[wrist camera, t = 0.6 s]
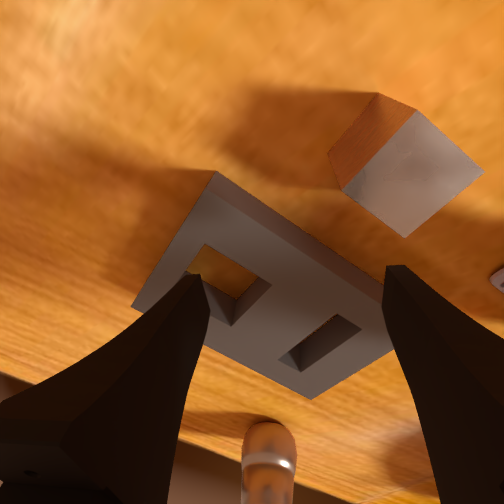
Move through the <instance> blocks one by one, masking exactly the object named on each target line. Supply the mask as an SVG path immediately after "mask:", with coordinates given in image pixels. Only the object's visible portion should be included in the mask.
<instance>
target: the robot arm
mask: <svg viewBox="0 0 504 504" xmlns="http://www.w3.org/2000/svg"><path fill="white" fill-rule="evenodd" d="M489 281H490V282H491V283H492V285H493V286H495V287H496V288H497V289H499V290H500V291H501V292H502V293H504V283H503V282H504V268H503V269H501V270H499V271H498V272H496V273H495V274H493V275H492V276H491V277H490V279H489ZM501 283H502V284H501ZM381 308H382V312H383V316H384V320H385V324H386V328H387V332H388V334H389V337H390V339H391V342H392V345H393V347H394V350H395V352H396V355H397V357H398V360H399V362H400V365H401V367H402V370H403V372H404V375H405V377H406V380H407V382H408V385H409V388H410V390H411V393H412V396H413V399H414V402H415V406H416V409H417V413H418V417H419V420H420V424H421V427H422V431H423V435H424V438H425V442H426V446H427V450H428V453H429V457H430V461H431V465H432V469H433V473H434V477H435V481H436V486H437V490H438V494H439V498H440V502H441V504H504V339H503V338H501V337H500V336H498V335H496V334H495V333H493V332H491V331H490V330H488V329H487V328H485V327H484V326H482V325H481V324H479V323H478V322H476V321H475V320H473V319H472V318H470V317H469V316H468V315H466V314H465V313H463V312H462V311H461V310H459V309H458V308H456V307H455V306H454V305H452V304H451V303H450V302H449V301H447V300H446V299H445V298H443V297H442V296H441V295H440V294H438V293H437V292H436V291H435V290H433V289H432V288H431V287H430V286H429V285H427V284H426V283H425V282H424V281H423V280H422V279H420V278H419V277H418V276H417V275H416V274H414V273H413V272H412V271H411V270H410V269H409V268H407V267H406V266H405V265H390V266H386V273H385V281H384V289H383V297H382V305H381ZM210 312H211V310H210V307H209V303H208V300H207V296H206V293H205V290H204V286H203V283H202V279H201V276H200V274H191V275H185V276H184V277H183V278H182V279H181V280H180V281H178V282H177V283H176V284H175V285H174V286H173V287H172V288H171V289H170V290H169V291H168V292H167V293H166V294H165V295H164V296H163V297H162V298H161V299H160V300H159V301H158V302H156V303H155V304H154V305H153V306H152V307H151V308H150V309H149V310H148V311H146V312H145V313H144V314H143V315H142V316H141V317H140V318H138V319H137V320H136V321H135V322H134V323H133V324H131V325H130V326H129V327H128V328H126V329H125V330H124V331H123V332H121V333H120V334H119V335H117V336H116V337H115V338H113V339H112V340H110V341H109V342H108V343H106V344H105V345H103V346H102V347H100V348H99V349H97V350H96V351H94V352H92V353H91V354H89V355H88V356H86V357H85V358H83V359H82V360H80V361H78V362H77V363H75V364H73V365H72V366H70V367H68V368H66V369H65V370H63V371H61V372H59V373H57V374H56V375H54V376H52V377H50V378H48V379H46V380H44V381H43V382H41V383H39V384H37V385H34V386H32V387H30V388H28V389H26V390H24V391H22V392H20V393H18V394H16V395H14V396H12V397H10V398H8V399H5V400H3V401H2V402H1V403H0V480H1V481H3V484H2V485H1V487H0V504H167V499H168V492H169V486H170V479H171V473H172V467H173V460H174V455H175V450H176V444H177V439H178V434H179V429H180V424H181V419H182V414H183V410H184V405H185V401H186V396H187V392H188V389H189V385H190V382H191V379H192V376H193V373H194V370H195V367H196V364H197V361H198V358H199V355H200V352H201V349H202V346H203V343H204V340H205V336H206V333H207V328H208V323H209V317H210Z"/></svg>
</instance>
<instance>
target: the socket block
mask: <svg viewBox="0 0 504 504" xmlns="http://www.w3.org/2000/svg"><path fill="white" fill-rule="evenodd" d="M204 244H206V245H208V246H210V247H211V248H213V249H215V250H216V251H218V252H220V253H221V254H223V255H224V256H226V257H228V258H229V259H231V260H233V261H234V262H236V263H238V264H239V265H241V266H242V267H244V268H246V269H247V270H249V271H251V272H252V273H254V274H256V275H257V276H259V277H258V278H257V279H256V280H255V281H254V283H253V284H252V285H251V286H250V287H249V288H248V289H247V290H246V291H245V292H244V293H243V294H242V295H241V296H240V297H239V299H238V300H235V299H234V298H232V297H230V296H228V295H227V294H225V293H223V292H221V291H220V290H218V289H216V288H215V287H213V286H211V285H209V284H208V283H206V282H204V281H202V283H203V286H204V290H205V293H206V296H207V300H208V303H209V307H210V310H211V312H210V317H209V323H208V328H207V333H206V336H205V340H204V343H203V344H204V345H206V346H207V347H209V348H211V349H213V350H215V351H217V352H219V353H221V354H223V355H225V356H227V357H229V358H231V359H233V360H235V361H237V362H238V363H240V364H242V365H244V366H246V367H248V368H250V369H252V370H254V371H256V372H258V373H260V374H262V375H264V376H266V377H267V378H269V379H271V380H273V381H275V382H277V383H279V384H281V385H283V386H285V387H287V388H289V389H291V390H293V391H295V392H297V393H298V394H300V395H302V396H304V397H306V398H308V399H310V400H312V399H313V398H315V397H317V396H318V395H320V394H321V393H323V392H325V391H326V390H328V389H330V388H331V387H333V386H335V385H336V384H338V383H339V382H341V381H343V380H344V379H346V378H348V377H349V376H351V375H353V374H354V373H356V372H357V371H359V370H361V369H362V368H364V367H366V366H367V365H369V364H371V363H372V362H374V361H375V360H377V359H379V358H380V357H382V356H384V355H385V354H387V353H389V352H390V351H392V350H393V349H394V347H393V345H392V342H391V339H390V337H389V334H388V332H387V328H386V324H385V320H384V316H383V312H382V308H381V305H382V297H383V289H384V286H383V285H382V284H380V283H379V282H377V281H376V280H375V279H373V278H372V277H370V276H369V275H367V274H366V273H364V272H363V271H361V270H360V269H359V268H357V267H356V266H354V265H353V264H351V263H350V262H348V261H347V260H345V259H344V258H342V257H341V256H340V255H338V254H337V253H335V252H334V251H332V250H331V249H329V248H328V247H326V246H325V245H324V244H322V243H321V242H319V241H318V240H316V239H315V238H313V237H312V236H310V235H309V234H308V233H306V232H305V231H303V230H302V229H300V228H299V227H297V226H296V225H294V224H293V223H292V222H290V221H289V220H287V219H286V218H284V217H283V216H281V215H280V214H278V213H277V212H276V211H274V210H273V209H271V208H270V207H268V206H267V205H265V204H264V203H262V202H261V201H260V200H258V199H257V198H255V197H254V196H252V195H251V194H249V193H248V192H246V191H245V190H244V189H242V188H241V187H239V186H238V185H236V184H235V183H233V182H232V181H230V180H229V179H227V178H226V177H225V176H223V175H222V174H220V173H219V172H217V171H216V172H215V174H214V175H213V177H212V178H211V180H210V182H209V183H208V185H207V186H206V188H205V189H204V191H203V193H202V194H201V196H200V197H199V199H198V201H197V202H196V204H195V205H194V207H193V208H192V210H191V212H190V213H189V215H188V216H187V218H186V220H185V221H184V223H183V224H182V226H181V227H180V229H179V231H178V232H177V234H176V235H175V237H174V239H173V240H172V242H171V243H170V245H169V246H168V248H167V250H166V251H165V253H164V254H163V256H162V258H161V259H160V261H159V262H158V264H157V265H156V267H155V269H154V270H153V272H152V273H151V275H150V276H149V278H148V280H147V281H146V283H145V284H144V286H143V288H142V289H141V291H140V292H139V294H138V295H137V297H136V299H135V300H134V302H133V303H132V305H131V307H132V308H134V309H136V310H138V311H140V312H142V313H145V312H146V311H148V310H149V309H150V308H151V307H152V306H153V305H154V304H155V303H156V302H158V301H159V300H160V299H161V298H162V297H163V296H164V295H165V294H166V293H167V292H168V291H169V290H170V289H171V288H172V287H173V286H174V285H175V284H176V283H177V282H178V281H180V280H181V279H182V278H183V277H184V276H185V275H191V274H190V273H188V272H187V271H185V270H186V269H187V267H188V266H189V265H190V263H191V262H192V260H193V259H194V258H195V256H196V255H197V254H198V252H199V251H200V249H201V248H202V247H203V245H204ZM335 314H338V315H337V316H335V317H334V318H333V319H332V320H330V321H329V322H328V323H326V324H325V325H324V326H323V327H321V328H320V329H319V330H317V331H316V332H315V333H314V334H312V335H311V336H310V337H308V338H307V339H306V340H305V341H303V342H302V343H301V344H299V342H301V341H302V340H303V339H305V338H306V337H307V336H308V335H310V334H311V333H312V332H314V331H315V330H316V329H317V328H319V327H320V326H321V325H322V324H324V323H325V322H326V321H328V320H329V319H330V318H331V317H333V316H334V315H335Z"/></svg>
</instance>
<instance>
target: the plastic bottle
mask: <svg viewBox="0 0 504 504" xmlns="http://www.w3.org/2000/svg"><path fill="white" fill-rule="evenodd" d="M296 461H297V450H296V444H295V439H294V437H293V436H292V434H291V432H290V431H289V430H288V429H287V428H286V427H284V426H282V425H280V424H276V423H271V422H262V423H257V424H255V425H253V426H251V428H250V429H249V430H248V431H247V433H246V434H245V437H244V441H243V445H242V471H243V472H242V491H241V504H292V499H293V483H294V475H295V470H296Z"/></svg>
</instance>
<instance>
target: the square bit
mask: <svg viewBox="0 0 504 504" xmlns="http://www.w3.org/2000/svg"><path fill="white" fill-rule="evenodd" d="M328 156H329V159H330V162H331V164H332V167H333V170H334V172H335V175H336V178H337V180H338V183H339V186H340V188H341V191H342V192H344V193H345V194H346V195H348V196H349V197H350V198H352V199H353V200H354V201H356V202H357V203H358V204H360V205H361V206H362V207H364V208H365V209H366V210H367V211H369V212H370V213H371V214H373V215H374V216H375V217H377V218H378V219H379V220H381V221H382V222H383V223H385V224H386V225H387V226H389V227H390V228H391V229H393V230H394V231H395V232H397V233H398V234H399V235H400V236H402V237H403V238H404V239H405V238H406V237H407V236H408V235H409V234H411V233H412V232H413V231H414V230H415V229H417V228H418V227H419V226H420V225H422V224H423V223H424V222H425V221H426V220H428V219H429V218H430V217H431V216H432V215H434V214H435V213H436V212H437V211H438V210H440V209H441V208H442V207H443V206H445V205H446V204H447V203H448V202H449V201H451V200H452V199H453V198H454V197H455V196H457V195H458V194H459V193H460V192H461V191H463V190H464V189H465V188H466V187H468V186H469V185H470V184H471V183H472V182H474V181H475V180H476V179H477V178H478V177H480V176H481V175H482V174H483V173H484V172H485V171H484V170H483V169H481V168H480V167H479V166H478V165H477V164H476V163H475V162H474V161H473V160H472V159H471V158H469V157H468V156H467V155H466V154H465V153H464V152H463V151H462V150H461V149H460V148H459V147H457V146H456V145H455V144H454V143H453V142H452V141H451V140H450V139H449V138H448V137H447V136H446V135H444V134H443V133H442V132H441V131H440V130H439V129H438V128H437V127H436V126H435V125H434V124H432V123H431V122H430V121H429V120H428V119H427V118H426V117H425V116H424V115H423V114H422V113H420V112H419V111H418V110H417V109H415V108H412V107H410V106H408V105H406V104H403V103H401V102H399V101H397V100H394V99H392V98H390V97H387V96H385V95H383V94H381V93H378V94H377V95H376V96H375V97H374V98H373V100H372V101H371V102H370V103H369V104H368V106H367V107H366V108H365V109H364V110H363V112H362V113H361V114H360V115H359V116H358V118H357V119H356V120H355V121H354V122H353V123H352V125H351V126H350V127H349V128H348V129H347V131H346V132H345V133H344V134H343V135H342V137H341V138H340V139H339V140H338V141H337V143H336V144H335V145H334V146H333V147H332V149H331V150H330V151H329V152H328Z"/></svg>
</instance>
